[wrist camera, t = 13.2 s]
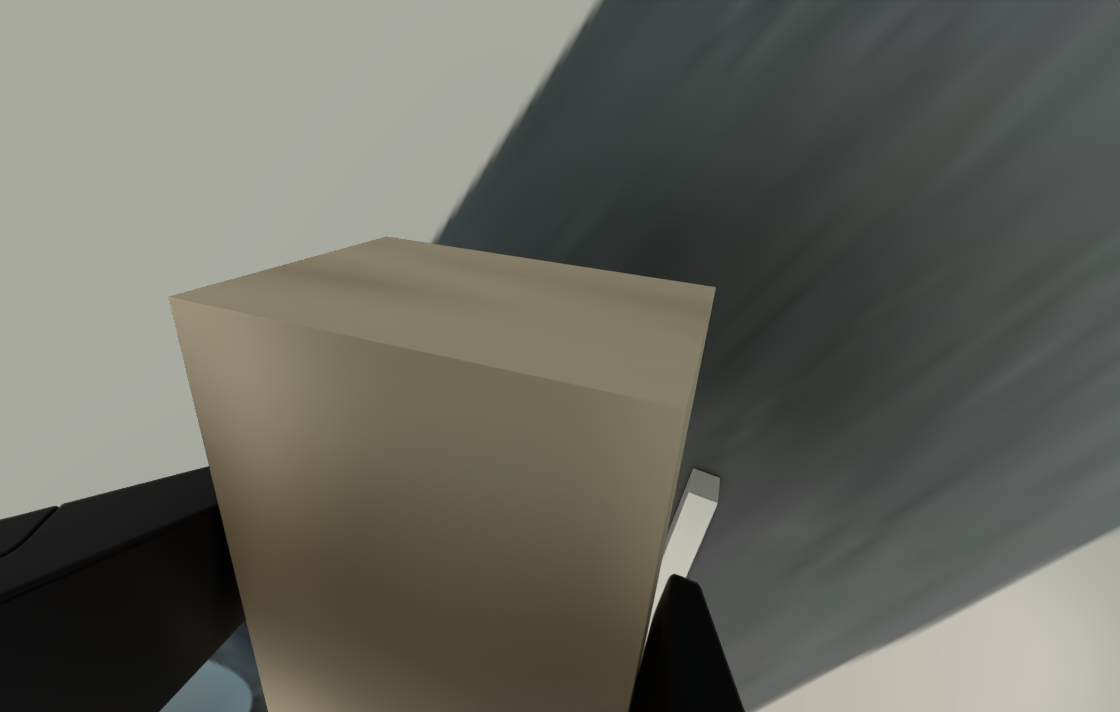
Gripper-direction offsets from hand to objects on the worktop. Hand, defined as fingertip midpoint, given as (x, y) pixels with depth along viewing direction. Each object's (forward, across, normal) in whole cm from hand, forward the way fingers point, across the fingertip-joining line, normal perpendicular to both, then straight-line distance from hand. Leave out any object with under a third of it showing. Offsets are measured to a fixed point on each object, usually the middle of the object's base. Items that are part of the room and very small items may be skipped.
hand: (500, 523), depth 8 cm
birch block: (+1, 0, 0) cm, 1 cm away
